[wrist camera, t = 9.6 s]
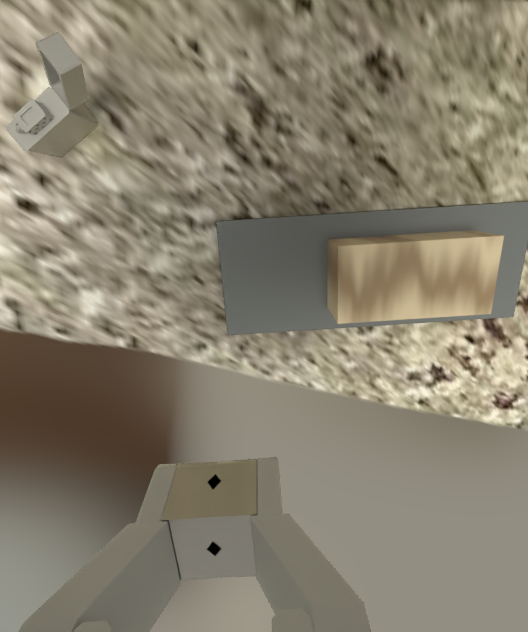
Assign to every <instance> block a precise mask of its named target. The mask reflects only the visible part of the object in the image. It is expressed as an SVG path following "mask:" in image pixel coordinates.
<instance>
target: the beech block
mask: <svg viewBox="0 0 528 632" xmlns="http://www.w3.org/2000/svg"><path fill="white" fill-rule="evenodd" d="M503 240H504V235H498V234H491V233H485V232H479V231H473V230H467V231H452V232H436V233H421V234H405V235H389V236H374V237H358V238H343V239H328V275H327V308H328V310H329V311H330V313H331V314H332V316H333V318H334V319H335V321H336V322H337V324H343V323H358V322H374V321H389V320H405V319H420V318H436V317H451V316H467V315H482V314H491V311H492V305H493V299H494V293H495V287H496V281H497V275H498V269H499V263H500V257H501V251H502V245H503Z"/></svg>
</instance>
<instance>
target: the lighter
mask: <svg viewBox="0 0 528 632" xmlns="http://www.w3.org/2000/svg"><path fill="white" fill-rule="evenodd" d="M35 44H36V46H37V49H38V52H39V55H40V58H41V61H42V64H43V66H44V69H45V72H46V75H47V78H48V81H49V84H50V85H51V87H52V88H50V87H48V88H47V89H46V90H45V91H44V92H43V93H42V94H41V95H40V96H39V97H38V98H36V99H35V100H33V99H31V100H30V101H29V102H28V103H27V104H26V105H25V106H24V107H23V108H21V109H20V110H19V111H18V112H17V113H16V114H15V115H14V116H13V118H14V120H13V121H12V122H11V123H10V124H9V125H8V126H7V131H8V132H9V134H10V135H11V136H12V137H13V138H14V139H15V141H16V142H17V143H18V144H19V145H20V146H21V148H22V149H23V150H26V151H31V152H37V153H42V154H47V155H52V156H58V157H63V156H64V155H65V154H66V153H67V152H69V151H70V150H71V149H72V148H73V147H74V146H75V145H77V144H78V143H79V142H80V141H81V140H82V139H83V138H85V137H86V136H87V135H88V134H89V133H90V132H91V131H93V130H94V129H95V128H96V127H97V126H98V122H97V120H96V119H95V118H94V116H93V115H92V114H91V112H90V111H89V110H88V109H87V107H86V106H85V105H84V104H83V103H84V102H86V101H88V97H87V91H86V86H85V80H84V75H83V69H82V64H81V62H80V60H79V58H78V57H77V56H76V54H75V53H74V52H73V50H72V49H71V48H70V46H69V45H68V44H67V42H66V41H65V40H64V38H63V37H62V36H61V34H60V33H59V32H57V33H55V34H53V35H50V36H48V37H46V38H44V39H42V40H40V41H38V42H36V43H35Z"/></svg>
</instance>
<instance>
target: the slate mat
mask: <svg viewBox="0 0 528 632" xmlns="http://www.w3.org/2000/svg"><path fill="white" fill-rule="evenodd" d="M216 225H217V235H218V245H219V254H220V264H221V274H222V283H223V293H224V303H225V312H226V322H227V332H228V335H240V334H255V333H271V332H286V331H302V330H317V329H333V328H348V327H364V326H379V325H395V324H411V323H426V322H442V321H457V320H473V319H488V318H504V317H513V316H514V311H515V306H516V301H517V295H518V290H519V285H520V280H521V274H522V269H523V264H524V259H525V253H526V248H527V243H528V201H523V202H508V203H492V204H477V205H461V206H446V207H430V208H414V209H399V210H383V211H368V212H352V213H337V214H321V215H306V216H290V217H274V218H259V219H243V220H228V221H216ZM467 230H473V231H479V232H485V233H491V234H498V235H504V240H503V245H502V251H501V257H500V263H499V269H498V275H497V281H496V287H495V293H494V299H493V305H492V311H491V314H482V315H467V316H451V317H436V318H420V319H405V320H389V321H374V322H358V323H343V324H337V322H336V321H335V319H334V318H333V316H332V314H331V313H330V311H329V310H328V308H327V275H328V239H343V238H358V237H374V236H389V235H405V234H421V233H436V232H452V231H467Z"/></svg>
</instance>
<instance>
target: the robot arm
mask: <svg viewBox="0 0 528 632" xmlns="http://www.w3.org/2000/svg"><path fill="white" fill-rule="evenodd" d="M245 576H246V577H247V576H256V578H257V581H258V582H259V584H260V586H261V588H262V590H263V592H264V594H265V596H266V597H267V599H268V601H269V603H270V605H271V607H272V609H273V611H274V613H275V616H274V617H273V618H272V632H371V629H370V625H369V621H368V617H367V613H366V610H365V606H364V602H363V601H362V600H361V599H360V598H359V597H358V595H357V594H356V593H355V592H354V591H353V589H352V588H351V587H350V586H349V585H348V583H347V582H346V581H345V580H344V579H343V577H342V576H341V575H340V574H339V573H338V571H337V570H336V569H335V568H334V567H333V565H332V564H331V563H330V562H329V561H328V560H327V558H326V557H325V556H324V555H323V554H322V552H321V551H320V550H319V549H318V548H317V546H316V545H315V544H314V543H313V542H312V540H311V539H310V538H309V537H308V536H307V534H306V533H305V532H304V531H303V530H302V528H301V527H300V526H299V525H298V524H297V523H296V521H295V520H294V519H293V518H292V517H291V515H290V514H283V512H282V500H281V487H280V475H279V463H278V458H277V457H270V458H258V461H257V459H248V460H234V461H221V462H199V463H179V464H159V465H158V467H157V468H156V469H155V471H154V474H153V477H152V479H151V482H150V485H149V488H148V490H147V493H146V496H145V499H144V501H143V504H142V507H141V510H140V512H139V515H138V518H137V520H136V523H132V524H128V525H127V526H126V527H125V528H124V529H123V530H122V531H121V532H120V533H119V534H117V536H115V537H114V538H113V539H112V540H111V541H110V542H109V543H108V544H107V545H106V546H105V547H104V548H103V549H102V550H101V551H99V552H98V553H97V554H96V555H95V556H94V557H93V558H92V559H91V560H90V561H89V562H88V563H87V564H86V565H84V566H83V567H82V568H81V569H80V570H79V571H78V572H77V573H76V574H75V575H74V576H73V577H72V578H71V579H70V580H69V581H68V582H66V583H65V584H64V585H63V586H62V587H61V588H60V589H59V590H58V591H57V592H56V593H55V594H54V595H53V596H51V597H50V598H49V599H48V600H47V601H46V602H45V603H44V604H43V605H42V606H41V607H40V608H39V609H38V610H37V611H36V612H34V613H33V614H32V615H31V616H30V617H29V618H28V619H27V620H26V621H25V622H24V623H23V624H22V626H21V628H20V630H19V632H149V631H150V630H151V628H152V626H153V625H154V624H155V622H156V621H157V619H158V617H159V616H160V614H161V613H162V611H163V610H164V608H165V607H166V605H167V604H168V602H169V601H170V599H171V598H172V596H173V595H174V593H175V592H176V590H177V589H178V587H179V586H180V584H181V583H180V581H186V580H197V579H207V578H217V577H245Z"/></svg>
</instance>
